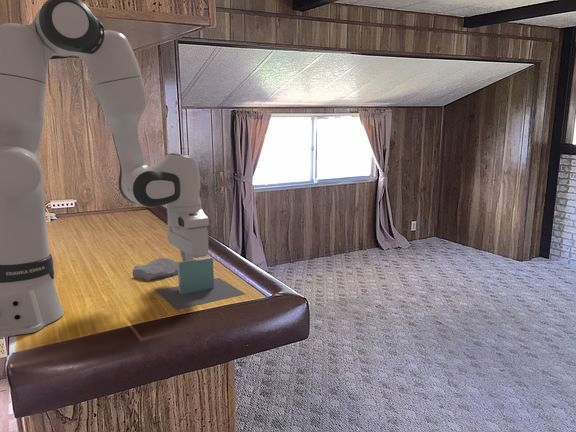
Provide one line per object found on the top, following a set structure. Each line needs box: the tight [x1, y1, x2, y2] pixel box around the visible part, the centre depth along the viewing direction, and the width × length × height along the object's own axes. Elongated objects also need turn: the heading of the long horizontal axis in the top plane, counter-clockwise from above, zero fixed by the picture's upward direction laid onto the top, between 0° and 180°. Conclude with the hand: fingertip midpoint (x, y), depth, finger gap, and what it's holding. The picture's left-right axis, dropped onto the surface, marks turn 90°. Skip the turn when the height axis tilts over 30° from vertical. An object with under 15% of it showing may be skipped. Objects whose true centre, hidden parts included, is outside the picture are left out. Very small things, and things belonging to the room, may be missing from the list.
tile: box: [177, 256, 215, 295], centre depth 122 cm, size 9×2×8 cm, turn 123°
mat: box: [155, 277, 246, 311], centre depth 121 cm, size 18×16×1 cm
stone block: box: [132, 257, 178, 281], centre depth 137 cm, size 12×5×10 cm
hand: (187, 266), depth 126 cm, fingers closed
